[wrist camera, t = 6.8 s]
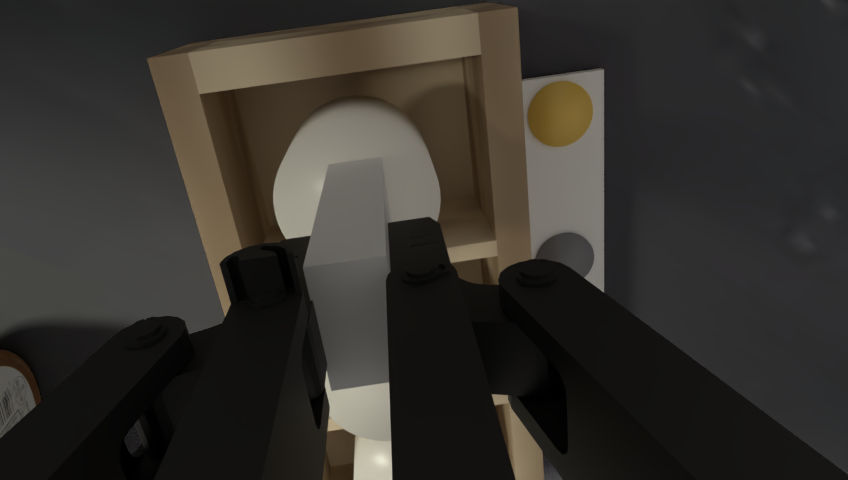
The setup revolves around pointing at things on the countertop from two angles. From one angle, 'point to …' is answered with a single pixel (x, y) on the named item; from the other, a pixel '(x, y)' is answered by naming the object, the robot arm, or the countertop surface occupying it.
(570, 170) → the card
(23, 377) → the tin
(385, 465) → the button
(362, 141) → the button
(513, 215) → the wooden compartment tray
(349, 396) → the button
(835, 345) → the countertop surface
